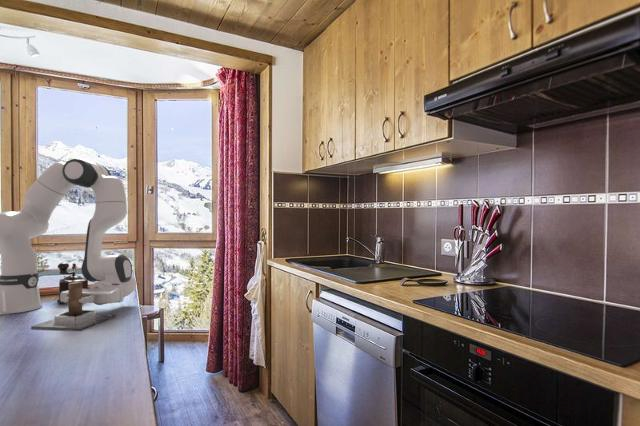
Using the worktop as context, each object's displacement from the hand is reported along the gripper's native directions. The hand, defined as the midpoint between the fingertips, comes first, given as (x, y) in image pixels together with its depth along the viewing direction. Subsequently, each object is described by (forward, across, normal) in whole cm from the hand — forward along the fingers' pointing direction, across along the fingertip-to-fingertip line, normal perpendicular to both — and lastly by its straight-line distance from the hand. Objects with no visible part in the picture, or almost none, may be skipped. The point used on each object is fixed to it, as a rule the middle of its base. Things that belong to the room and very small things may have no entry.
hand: (73, 300), depth 125 cm
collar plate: (-1, 0, +8) cm, 8 cm away
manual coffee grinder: (-29, -26, +8) cm, 40 cm away
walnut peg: (-1, 0, +6) cm, 6 cm away
